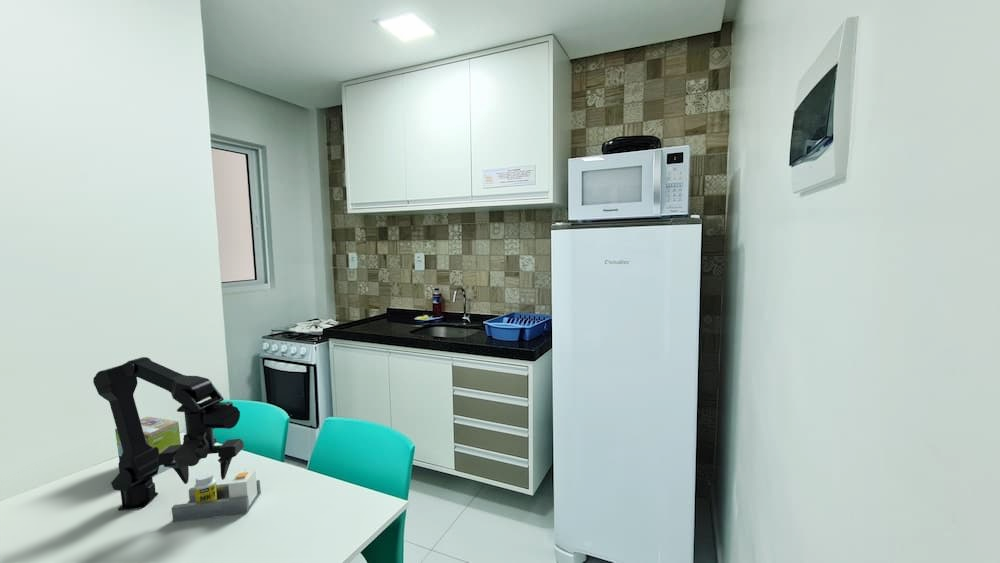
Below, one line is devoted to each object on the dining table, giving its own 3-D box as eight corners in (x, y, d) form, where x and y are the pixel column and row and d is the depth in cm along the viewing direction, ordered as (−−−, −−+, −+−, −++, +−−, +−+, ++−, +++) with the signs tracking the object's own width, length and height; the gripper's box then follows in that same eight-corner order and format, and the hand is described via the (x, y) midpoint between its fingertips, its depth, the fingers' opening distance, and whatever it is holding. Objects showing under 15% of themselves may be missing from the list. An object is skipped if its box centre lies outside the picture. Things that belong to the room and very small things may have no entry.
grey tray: (173, 522, 108) (171, 507, 107) (192, 501, 116) (191, 487, 116) (247, 512, 111) (246, 498, 110) (260, 492, 119) (259, 479, 119)
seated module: (230, 508, 111) (227, 481, 110) (240, 494, 117) (238, 469, 116) (248, 505, 112) (246, 479, 111) (257, 492, 118) (255, 467, 117)
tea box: (118, 472, 133) (113, 428, 132) (152, 456, 143) (148, 415, 141) (151, 478, 129) (146, 433, 127) (184, 462, 138) (179, 419, 137)
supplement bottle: (199, 512, 110) (196, 482, 109) (193, 505, 113) (190, 476, 112) (220, 503, 113) (217, 474, 113) (213, 497, 116) (211, 468, 116)
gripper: (139, 444, 101) (146, 504, 103) (222, 436, 104) (228, 494, 106) (167, 424, 112) (173, 478, 114) (242, 418, 115) (247, 470, 117)
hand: (205, 481), depth 112 cm, fingers open, 9 cm apart
